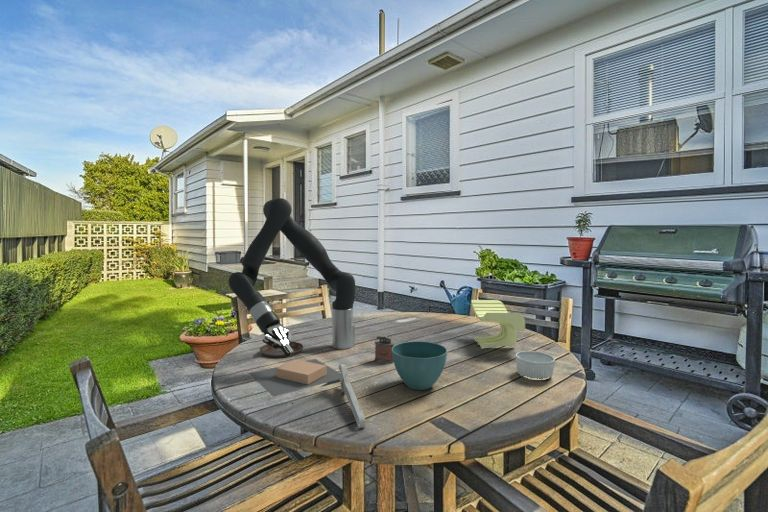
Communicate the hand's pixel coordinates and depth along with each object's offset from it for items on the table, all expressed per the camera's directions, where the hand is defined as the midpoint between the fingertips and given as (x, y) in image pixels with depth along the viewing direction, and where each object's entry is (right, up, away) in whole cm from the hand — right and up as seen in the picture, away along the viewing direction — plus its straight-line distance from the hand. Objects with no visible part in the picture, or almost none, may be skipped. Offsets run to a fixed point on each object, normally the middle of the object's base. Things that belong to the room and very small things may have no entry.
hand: (290, 354), depth 135 cm
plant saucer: (-10, -7, +26) cm, 29 cm away
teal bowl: (+44, -9, -7) cm, 46 cm away
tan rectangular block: (-2, -5, +1) cm, 5 cm away
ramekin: (+86, -8, +2) cm, 87 cm away
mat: (+2, -8, -1) cm, 8 cm away
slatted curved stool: (+83, -6, +40) cm, 92 cm away
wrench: (+23, -10, -21) cm, 33 cm away
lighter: (+33, -7, +17) cm, 38 cm away
